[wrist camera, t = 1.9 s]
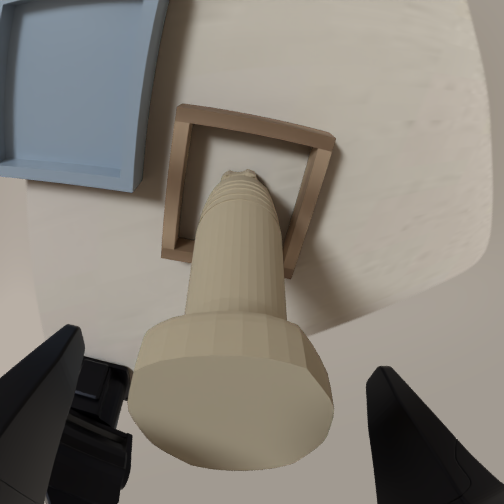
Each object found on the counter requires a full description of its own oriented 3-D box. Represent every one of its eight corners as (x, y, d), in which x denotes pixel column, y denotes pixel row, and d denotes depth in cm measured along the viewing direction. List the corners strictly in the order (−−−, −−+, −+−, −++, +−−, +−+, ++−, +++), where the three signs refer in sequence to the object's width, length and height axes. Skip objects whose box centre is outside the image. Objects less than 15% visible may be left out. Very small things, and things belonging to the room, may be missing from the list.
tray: (142, 180, 19) (132, 192, 17) (3, 165, 18) (-13, 175, 16) (174, -20, 12) (165, -29, 11) (14, -3, 11) (-3, -4, 9)
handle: (207, 238, 21) (171, 468, 9) (195, 144, 18) (88, 351, 5) (281, 234, 21) (316, 465, 9) (278, 138, 18) (353, 345, 5)
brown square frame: (288, 266, 23) (291, 279, 21) (165, 245, 22) (161, 257, 20) (329, 132, 18) (335, 138, 16) (182, 103, 17) (176, 106, 15)
